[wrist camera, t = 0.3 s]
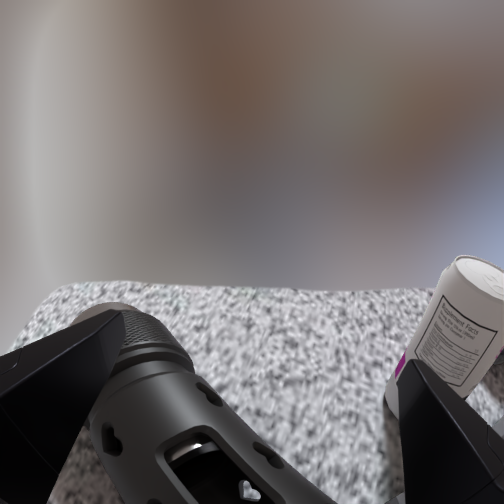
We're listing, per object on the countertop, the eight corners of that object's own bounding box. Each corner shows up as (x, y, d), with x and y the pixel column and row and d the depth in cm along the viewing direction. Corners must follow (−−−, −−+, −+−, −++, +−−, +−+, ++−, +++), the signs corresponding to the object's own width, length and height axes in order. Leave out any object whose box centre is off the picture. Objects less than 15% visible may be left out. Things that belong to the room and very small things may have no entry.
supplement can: (378, 371, 28) (433, 244, 22) (439, 374, 27) (501, 260, 21) (386, 434, 21) (474, 301, 14) (455, 431, 20) (545, 311, 13)
